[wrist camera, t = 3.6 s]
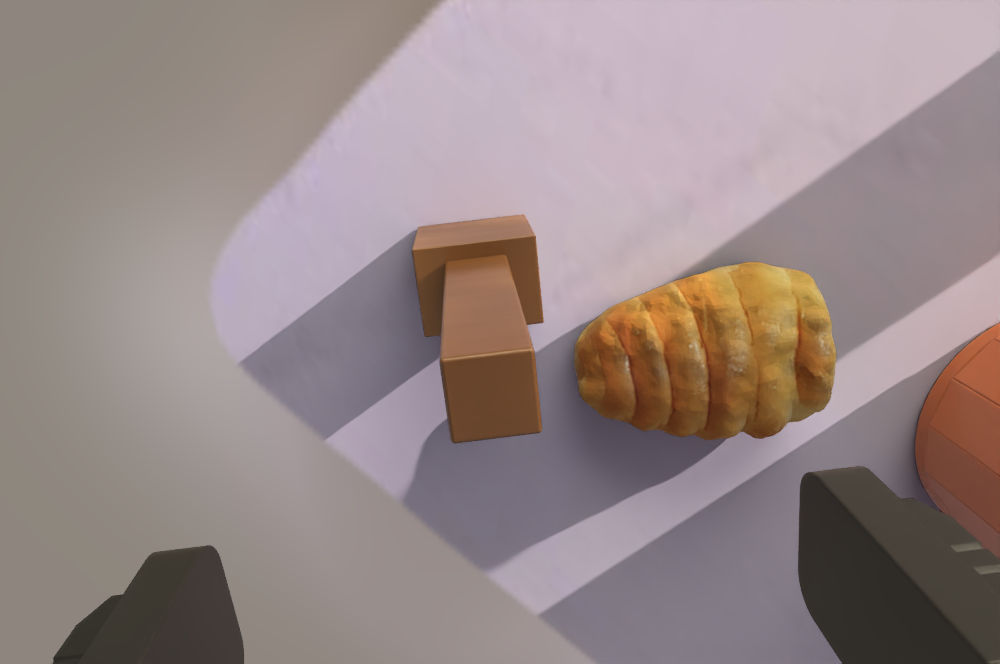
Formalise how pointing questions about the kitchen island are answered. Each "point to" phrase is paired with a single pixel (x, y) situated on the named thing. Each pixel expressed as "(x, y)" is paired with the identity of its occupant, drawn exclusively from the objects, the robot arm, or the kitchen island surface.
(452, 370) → the wooden mallet
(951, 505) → the crock
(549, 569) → the kitchen island surface
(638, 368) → the pastry
